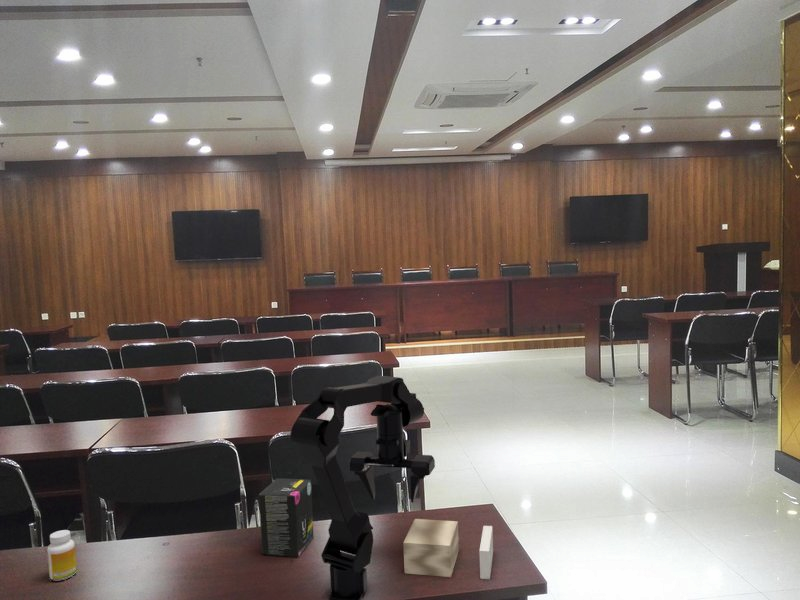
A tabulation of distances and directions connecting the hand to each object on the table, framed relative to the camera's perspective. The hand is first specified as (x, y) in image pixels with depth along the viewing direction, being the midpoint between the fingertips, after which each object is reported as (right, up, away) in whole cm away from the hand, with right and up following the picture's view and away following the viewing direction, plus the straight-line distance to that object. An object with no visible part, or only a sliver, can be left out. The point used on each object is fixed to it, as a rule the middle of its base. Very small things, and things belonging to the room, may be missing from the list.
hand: (393, 500), depth 139 cm
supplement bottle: (-73, -16, -2) cm, 75 cm away
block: (+9, -13, -2) cm, 16 cm away
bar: (+21, -13, -4) cm, 24 cm away
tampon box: (-25, -14, +8) cm, 30 cm away
